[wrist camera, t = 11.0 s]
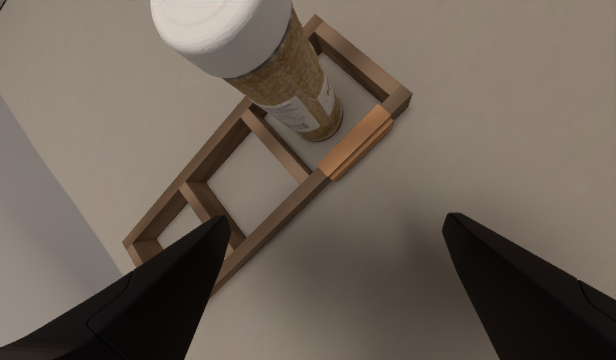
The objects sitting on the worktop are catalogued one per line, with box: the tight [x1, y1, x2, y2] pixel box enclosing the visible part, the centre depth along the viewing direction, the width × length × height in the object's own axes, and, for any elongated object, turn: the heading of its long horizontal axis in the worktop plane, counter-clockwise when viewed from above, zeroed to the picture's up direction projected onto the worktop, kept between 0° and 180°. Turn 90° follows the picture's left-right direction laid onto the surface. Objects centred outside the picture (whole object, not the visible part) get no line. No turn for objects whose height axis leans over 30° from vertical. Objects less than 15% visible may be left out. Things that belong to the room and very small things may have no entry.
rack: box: [122, 14, 413, 298], centre depth 20 cm, size 10×28×3 cm, turn 132°
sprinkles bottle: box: [151, 0, 342, 142], centre depth 13 cm, size 5×5×13 cm
